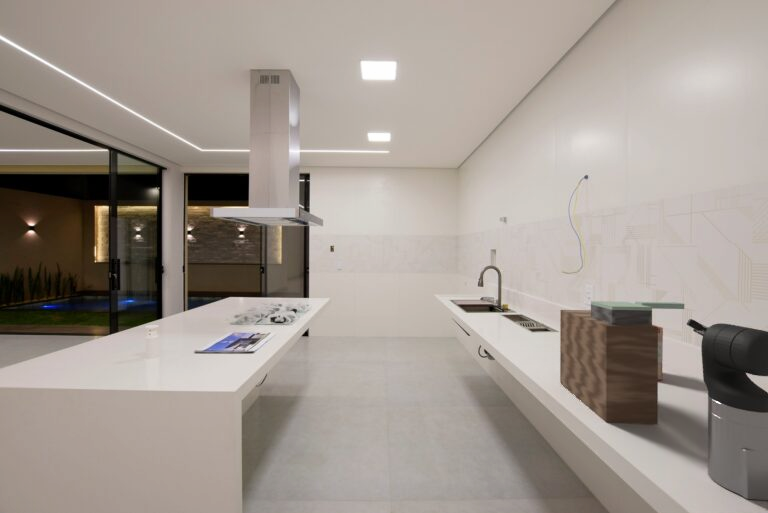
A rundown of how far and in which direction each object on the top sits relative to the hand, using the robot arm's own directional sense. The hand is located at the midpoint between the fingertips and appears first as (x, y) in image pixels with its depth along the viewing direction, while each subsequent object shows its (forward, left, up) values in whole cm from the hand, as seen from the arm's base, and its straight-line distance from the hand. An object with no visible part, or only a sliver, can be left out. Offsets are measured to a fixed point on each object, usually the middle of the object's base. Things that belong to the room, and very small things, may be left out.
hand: (701, 324), depth 96 cm
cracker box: (+35, -8, -28) cm, 45 cm away
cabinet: (+7, +24, -28) cm, 38 cm away
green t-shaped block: (0, +17, +4) cm, 18 cm away
